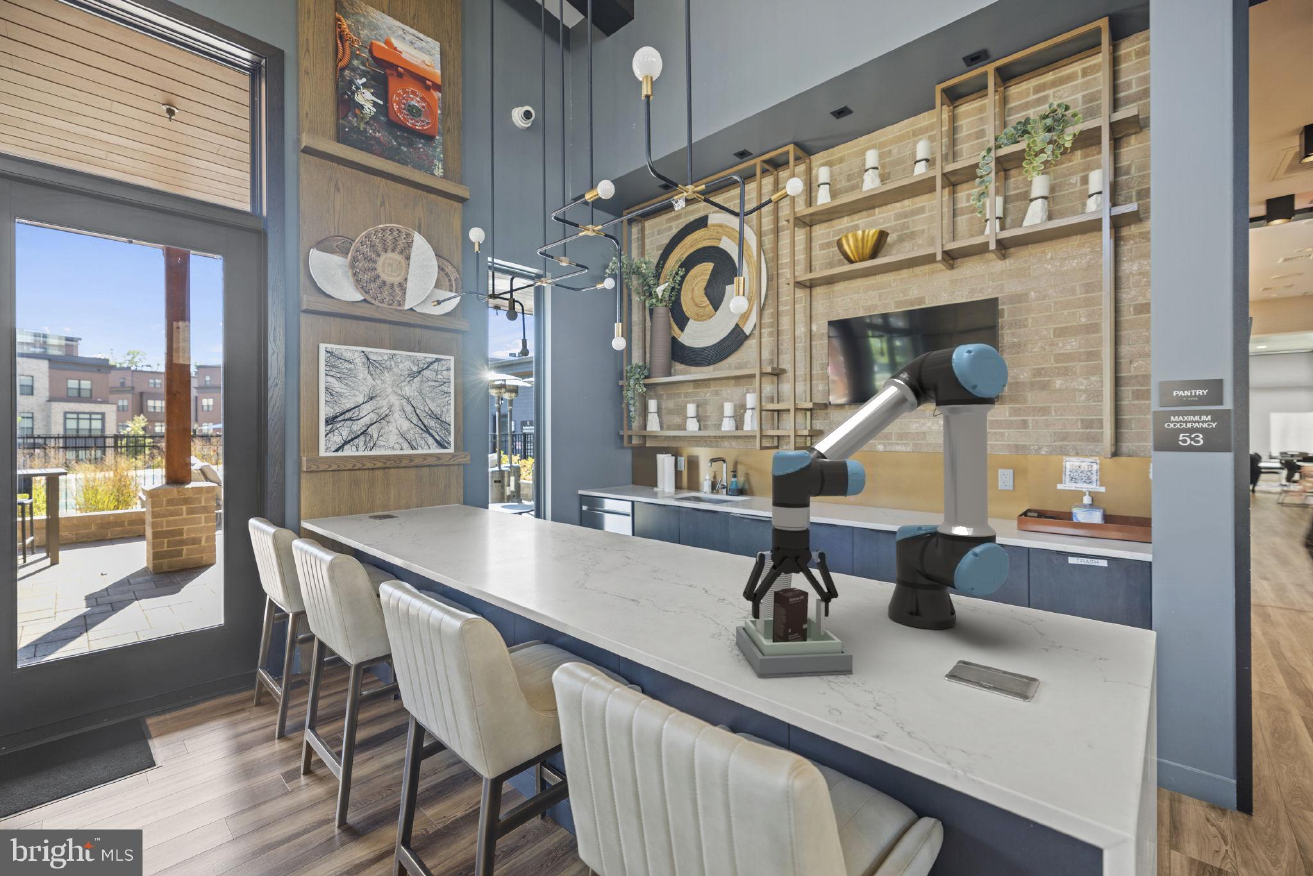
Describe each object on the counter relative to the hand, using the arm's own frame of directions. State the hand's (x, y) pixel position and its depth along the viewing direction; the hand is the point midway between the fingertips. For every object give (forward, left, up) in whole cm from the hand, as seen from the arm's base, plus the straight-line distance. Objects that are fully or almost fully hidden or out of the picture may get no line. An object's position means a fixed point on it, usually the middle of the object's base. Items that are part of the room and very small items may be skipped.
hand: (790, 633), depth 117 cm
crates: (0, 0, -5) cm, 5 cm away
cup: (-5, -25, -5) cm, 26 cm away
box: (0, 0, -4) cm, 4 cm away
